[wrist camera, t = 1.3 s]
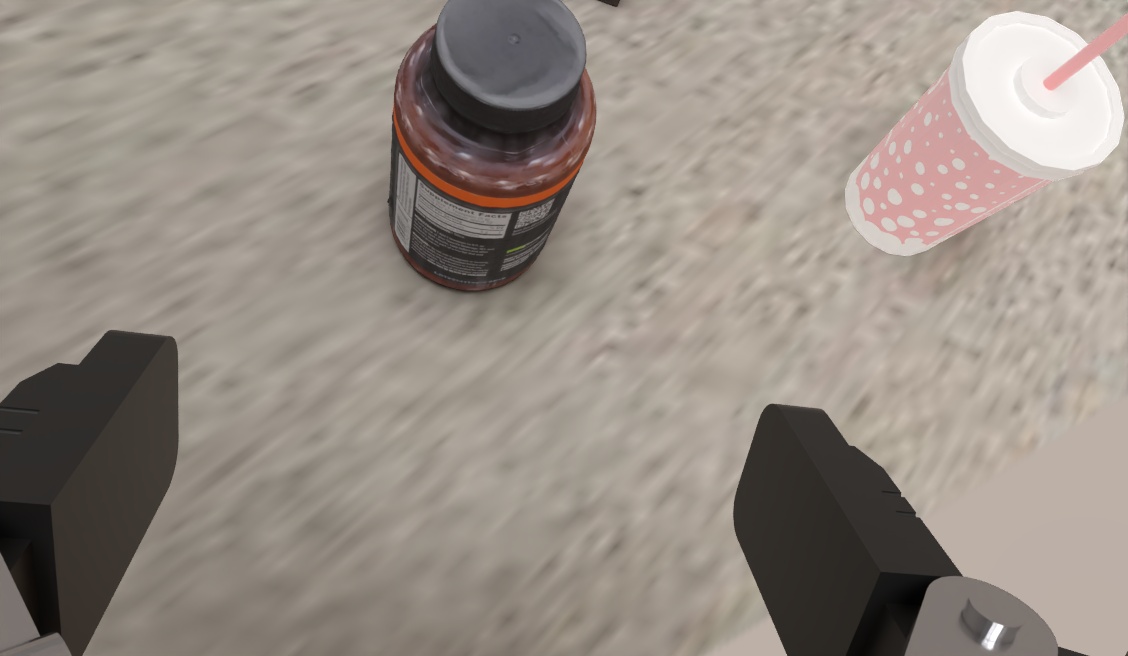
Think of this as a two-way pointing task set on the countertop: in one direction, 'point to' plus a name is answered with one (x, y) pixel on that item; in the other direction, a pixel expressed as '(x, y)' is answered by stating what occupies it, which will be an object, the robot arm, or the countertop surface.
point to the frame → (611, 2)
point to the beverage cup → (989, 132)
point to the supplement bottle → (487, 138)
